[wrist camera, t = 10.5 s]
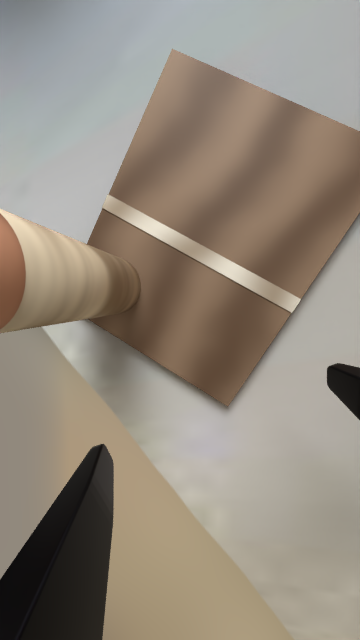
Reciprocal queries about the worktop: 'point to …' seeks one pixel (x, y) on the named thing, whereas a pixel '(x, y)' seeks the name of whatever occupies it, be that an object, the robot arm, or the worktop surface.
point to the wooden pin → (58, 278)
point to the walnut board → (224, 220)
